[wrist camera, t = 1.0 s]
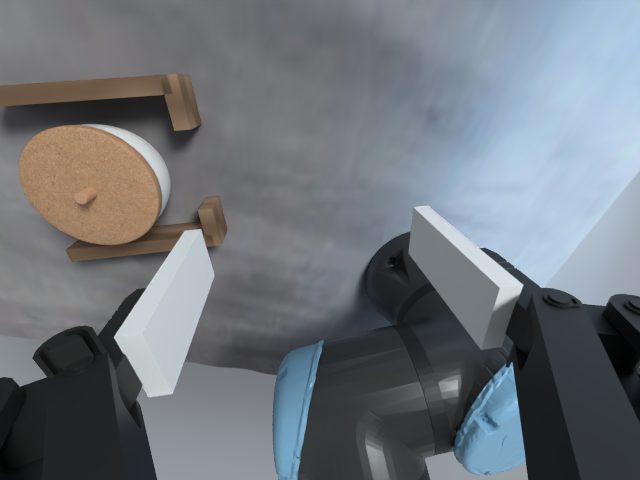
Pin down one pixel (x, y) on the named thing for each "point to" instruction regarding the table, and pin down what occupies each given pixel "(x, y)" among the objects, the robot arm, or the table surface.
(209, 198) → the cradle
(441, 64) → the table surface
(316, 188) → the table surface
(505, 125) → the table surface
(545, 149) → the table surface
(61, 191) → the lidded jar
